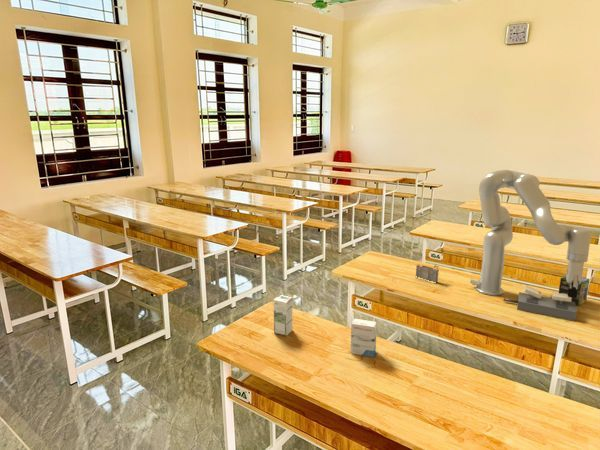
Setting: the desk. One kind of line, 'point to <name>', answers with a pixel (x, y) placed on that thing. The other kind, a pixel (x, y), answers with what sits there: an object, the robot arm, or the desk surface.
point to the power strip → (546, 306)
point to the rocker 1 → (533, 292)
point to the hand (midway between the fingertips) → (572, 296)
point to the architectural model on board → (427, 273)
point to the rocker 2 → (561, 297)
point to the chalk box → (580, 293)
